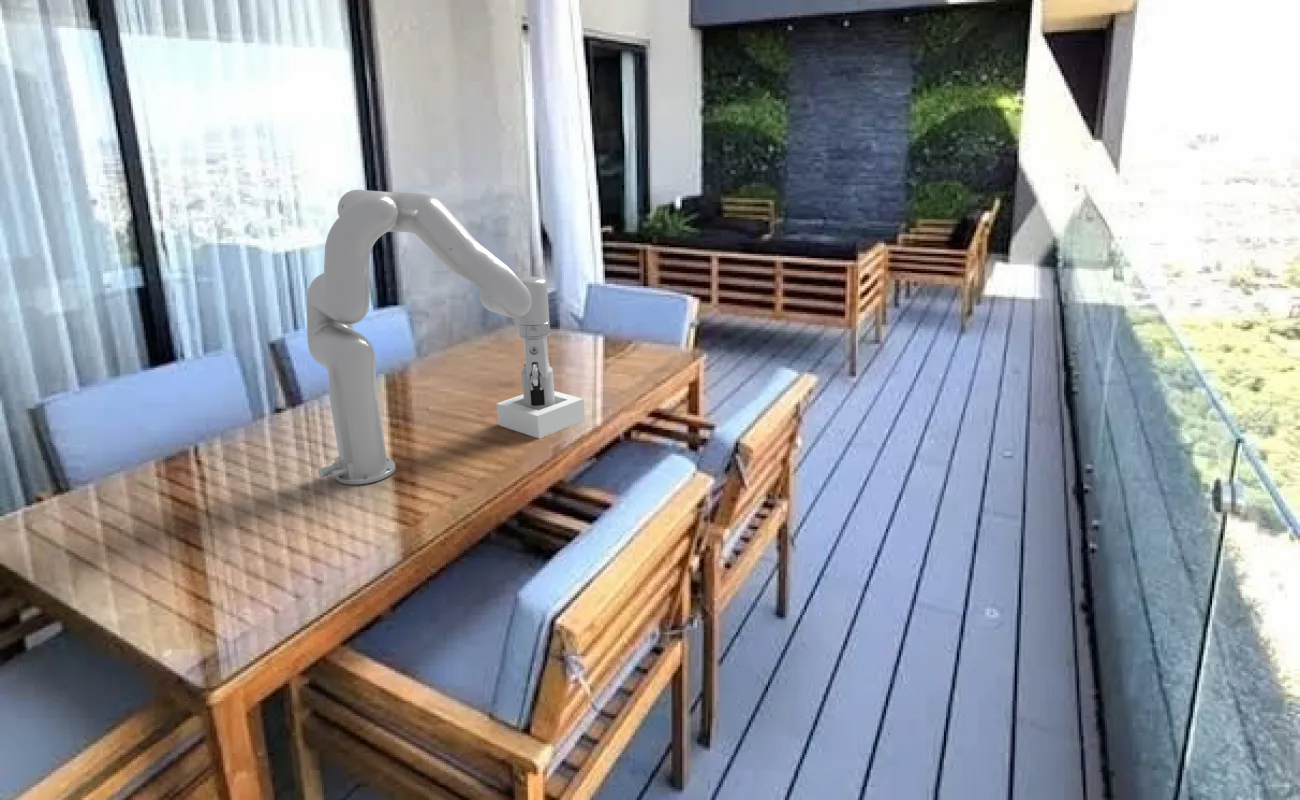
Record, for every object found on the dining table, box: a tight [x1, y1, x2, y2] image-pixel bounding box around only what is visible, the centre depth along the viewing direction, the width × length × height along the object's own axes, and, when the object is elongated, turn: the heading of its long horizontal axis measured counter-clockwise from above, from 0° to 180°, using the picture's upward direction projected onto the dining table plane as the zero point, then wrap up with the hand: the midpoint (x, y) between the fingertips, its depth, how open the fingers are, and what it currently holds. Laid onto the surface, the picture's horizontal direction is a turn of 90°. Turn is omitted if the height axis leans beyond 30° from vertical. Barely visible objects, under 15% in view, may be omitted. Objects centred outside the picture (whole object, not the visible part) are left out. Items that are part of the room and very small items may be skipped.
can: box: [521, 363, 555, 410], centre depth 204 cm, size 8×8×12 cm
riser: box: [496, 390, 586, 439], centre depth 206 cm, size 15×15×6 cm
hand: (539, 399), depth 205 cm, fingers closed on can, 7 cm apart
